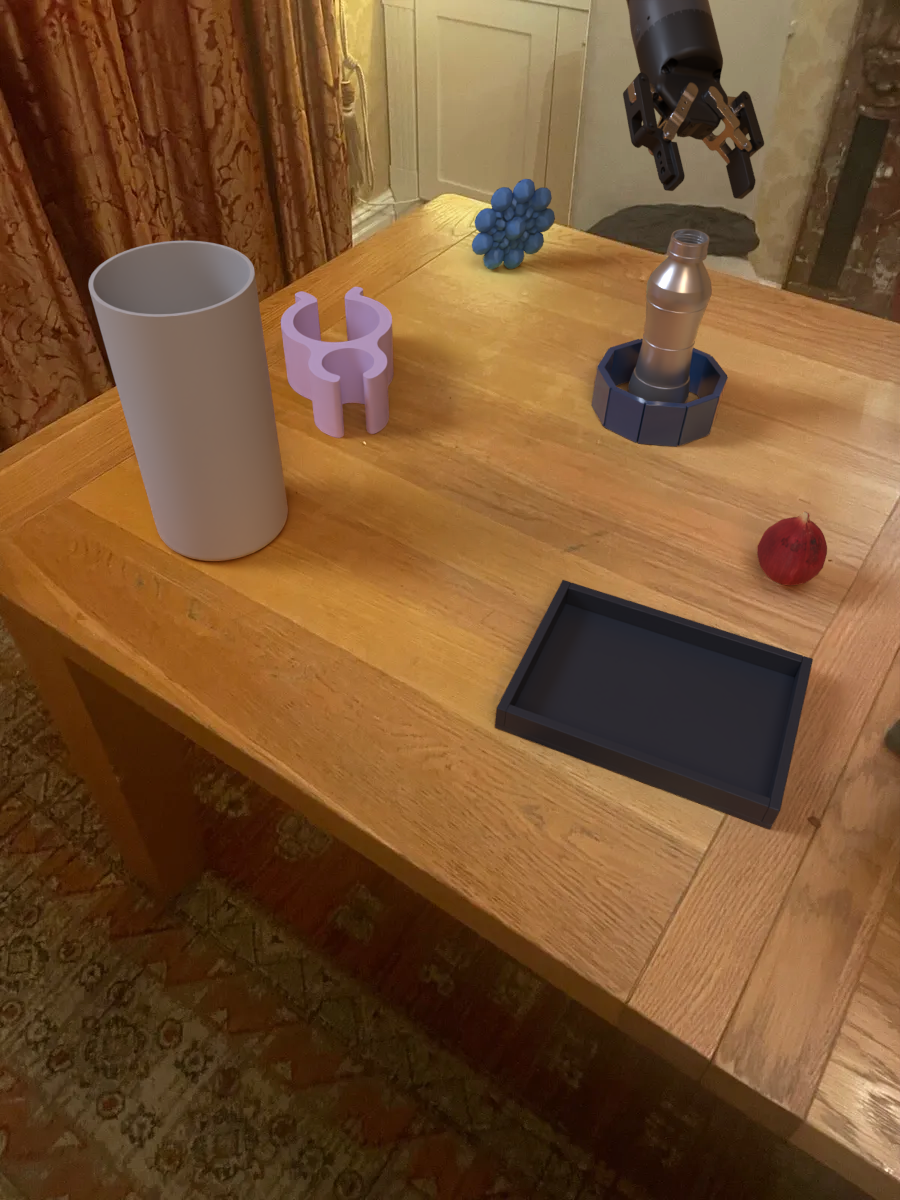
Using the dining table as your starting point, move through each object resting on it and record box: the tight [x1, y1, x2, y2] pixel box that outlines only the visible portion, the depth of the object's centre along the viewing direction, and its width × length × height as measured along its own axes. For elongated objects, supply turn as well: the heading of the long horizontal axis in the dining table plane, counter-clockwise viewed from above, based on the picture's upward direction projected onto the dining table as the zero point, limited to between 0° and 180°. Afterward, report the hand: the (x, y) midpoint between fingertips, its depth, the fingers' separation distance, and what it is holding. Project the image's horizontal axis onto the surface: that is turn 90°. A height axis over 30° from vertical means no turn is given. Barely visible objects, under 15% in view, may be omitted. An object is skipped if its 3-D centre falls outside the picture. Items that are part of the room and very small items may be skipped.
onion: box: [756, 510, 828, 586], centre depth 81 cm, size 6×6×8 cm
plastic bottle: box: [627, 228, 713, 404], centre depth 96 cm, size 6×7×20 cm
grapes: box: [471, 178, 556, 270], centre depth 123 cm, size 12×7×12 cm, turn 106°
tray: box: [494, 579, 814, 830], centre depth 73 cm, size 22×16×3 cm
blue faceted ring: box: [591, 338, 729, 448], centre depth 101 cm, size 14×14×5 cm
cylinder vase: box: [88, 240, 289, 562], centre depth 79 cm, size 12×12×25 cm
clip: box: [280, 286, 395, 439], centre depth 103 cm, size 20×12×7 cm, turn 13°
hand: (710, 190), depth 85 cm, fingers open, 8 cm apart
